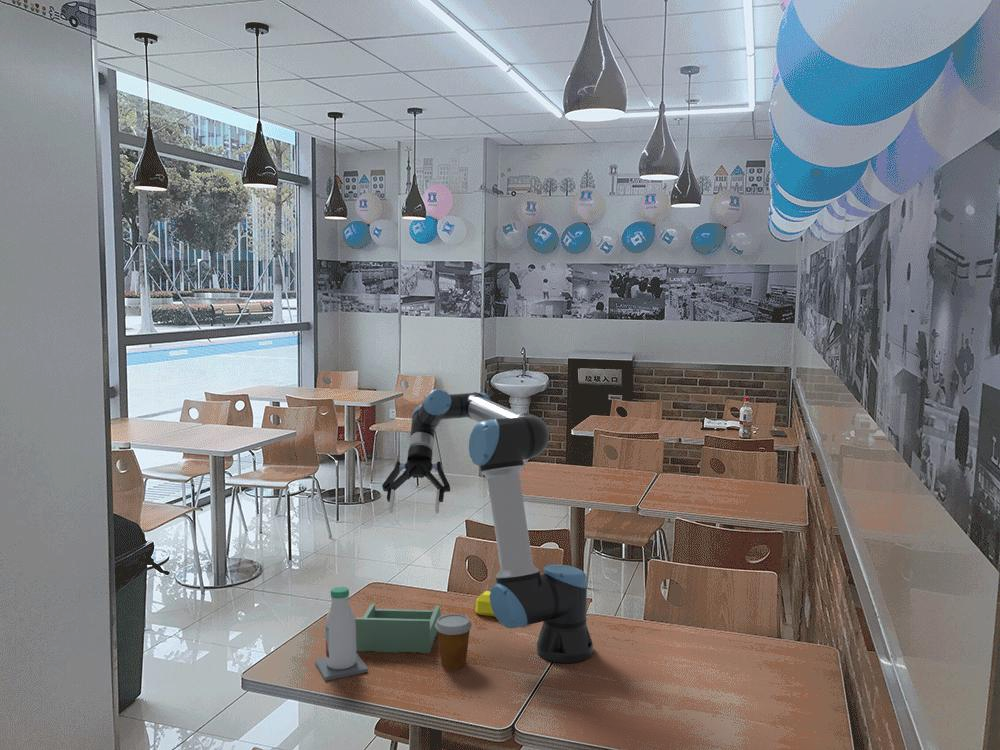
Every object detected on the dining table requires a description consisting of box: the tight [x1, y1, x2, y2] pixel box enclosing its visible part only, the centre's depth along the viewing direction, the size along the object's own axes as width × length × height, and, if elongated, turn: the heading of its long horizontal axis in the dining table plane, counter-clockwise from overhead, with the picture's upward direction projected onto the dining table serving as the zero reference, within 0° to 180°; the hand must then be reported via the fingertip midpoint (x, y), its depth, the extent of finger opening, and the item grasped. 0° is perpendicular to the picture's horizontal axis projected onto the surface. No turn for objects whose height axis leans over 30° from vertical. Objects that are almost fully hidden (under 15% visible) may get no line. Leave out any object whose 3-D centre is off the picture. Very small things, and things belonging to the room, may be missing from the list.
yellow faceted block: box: [473, 590, 496, 618], centre depth 251 cm, size 18×7×8 cm
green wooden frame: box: [355, 603, 442, 654], centre depth 235 cm, size 20×20×9 cm
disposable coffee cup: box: [435, 613, 472, 670], centre depth 217 cm, size 10×10×12 cm
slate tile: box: [314, 653, 369, 682], centre depth 216 cm, size 11×11×1 cm
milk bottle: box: [325, 586, 358, 670], centre depth 215 cm, size 8×8×20 cm
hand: (413, 511), depth 243 cm, fingers open, 13 cm apart
